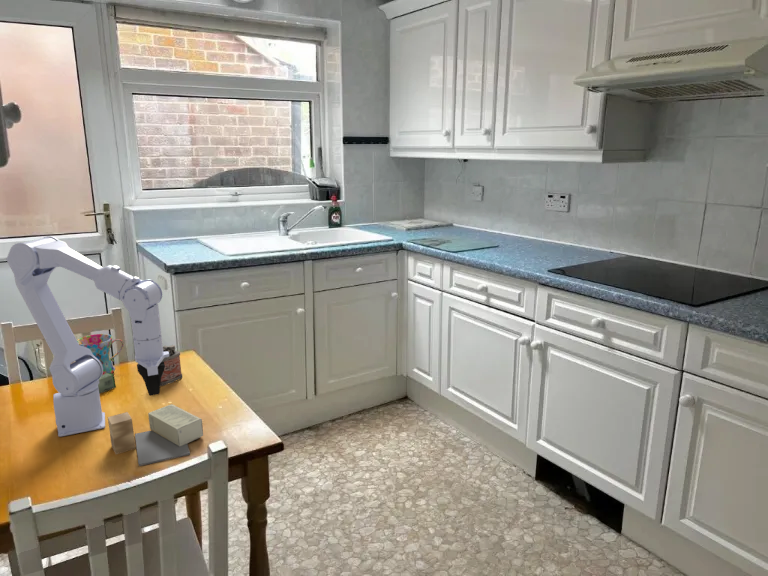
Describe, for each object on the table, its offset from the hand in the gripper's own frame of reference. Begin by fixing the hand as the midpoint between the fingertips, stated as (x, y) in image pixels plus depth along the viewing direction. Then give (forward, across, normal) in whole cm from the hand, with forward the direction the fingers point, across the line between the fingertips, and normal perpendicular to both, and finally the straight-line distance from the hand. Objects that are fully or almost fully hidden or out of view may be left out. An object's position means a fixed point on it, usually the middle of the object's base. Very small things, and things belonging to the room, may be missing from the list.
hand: (154, 393), depth 128 cm
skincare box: (+6, +2, -1) cm, 7 cm away
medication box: (+10, +28, +14) cm, 33 cm away
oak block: (+9, -5, +7) cm, 13 cm away
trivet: (+9, -7, 0) cm, 12 cm away
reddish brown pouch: (+9, +28, -5) cm, 30 cm away
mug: (+9, +42, +11) cm, 45 cm away
